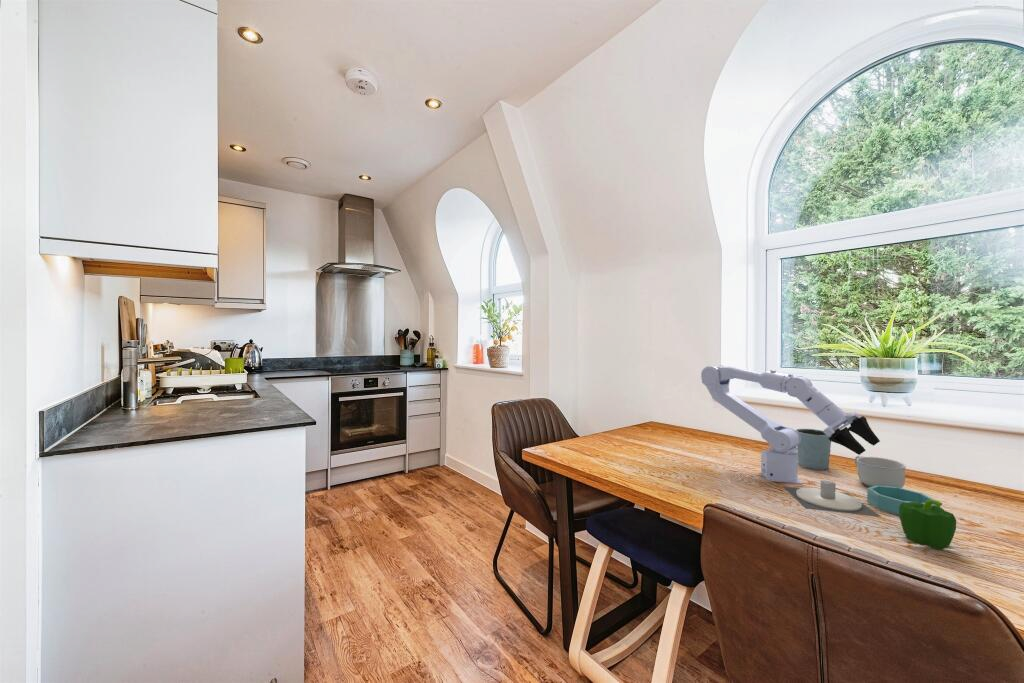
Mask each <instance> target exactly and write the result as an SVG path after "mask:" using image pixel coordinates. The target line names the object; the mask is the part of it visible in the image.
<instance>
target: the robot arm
mask: <svg viewBox="0 0 1024 683" xmlns="http://www.w3.org/2000/svg"><path fill="white" fill-rule="evenodd" d="M700 378H701V384H703V385H704V386H705V387H706V389H707V390H708V392H709V394H710V396H711V398H712V399H713V400H714V402H716V403H718V404H720V405H721V406H722V407H724V408H725V409H726V410H728V411H729V412H730V413H732V414H733V415H735V416H736V417H737V418H739V419H740V420H742V421H743V422H745V423H746V424H748V425H749V426H750V427H751V428H753V429H755V430H756V431H758V432H759V433H760V436H761V438H762V439H763V440H765V442H766V443H767V444H768V445H769V447H770V449H763V450H762V451H761V454H760V455H761V456H760V458H761V460H760V474H761V475H762V476H763V477H764V478H765V479H766V480H767V481H772V482H780V483H781V482H782V483H791V484H792V483H793V484H804V482H803V481H801V479H800V478H798V477H799V476H798V475H799V463H798V448H797V446H798V445H799V444H800V442H801V437H800V435H799V433H798V432H797V431H796V430H797V429H794V428H792V427H787V426H785V425H783V424H782V423H779V422H776V421H774V420H771V419H770V418H768V417H767V416H766V415H764V414H762V413H761V412H760V411H758V410H757V409H756V408H753V407H752V406H751V405H750V404H748V403H746V402H745V401H743V400H741V399H740V398H739V397H737V396H736V395H735V394H732V393H731V392H730V382H731V380H733V379H738V380H743V381H746V382H747V381H748V382H751V383H757V384H759V385H760V387H761V388H763V389H766V390H770V391H775V392H779V393H783V394H785V393H786V394H787V395H788V396H789V397H793V398H796V399H798V401H800V402H801V403H802V404H803V406H805V407H806V408H807V409H809V411H810V412H812V413H813V414H814V415H815V416H816V417H817V418H818V419H819V420H820V421H822V422H823V423H824V424H825V425H827V427H826V428H825V429H824V430H822V431H823V432H824V433H825V434H826V435H827V436H828V437H829V436H831V437H829V438H828V439H829V440H830V441H831V443H835V444H838V445H841V446H842V447H845V448H846V449H849V450H850V451H852V452H853V453H854V454H857V456H861V454H863V453H864V452H866V450H867V449H865V447H864V446H863V445H862V444H861V443H860V442H859V441H858V440H857V439H856V438H855V437H854V435H853V434H856V435H857V436H859V437H860V438H861V439H863V440H864V441H865V442H867V443H868V444H870V445H871V446H875V445H877V444H878V443H880V442H881V440H880V439H879V438H878V436H877V435H876V433H874V431H873V430H872V428H871V427H870V425H869V423H868V419H867V417H865V416H863V415H862V416H860V415H859V414H858V413H857V412H855V411H854V412H853V413H851V412H849V413H846V412H845V411H844V410H843V409H841V408H840V407H839V406H838V405H837V404H836V403H834V402H833V401H832V400H831V399H830V398H828V397H827V396H826V395H825V394H824V393H823V392H822V391H819V390H818V389H817V388H816V387H815V386H813V383H812V381H811V380H810V379H808V378H807V377H804V376H802V375H799V376H795V377H794V374H792V373H788V374H784V373H779V372H777V370H775V369H770V370H766V371H764V372H762V373H761V372H758V371H752V370H749V369H745V368H740V367H736V366H731V365H729V366H728V365H726V366H725V365H715V366H709V365H707V366H705V367H704V368H703V369H702V370H701V374H700ZM849 425H850V426H849ZM847 426H848V427H847ZM852 433H853V434H852Z"/></svg>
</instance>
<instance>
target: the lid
mask: <svg viewBox="0 0 1024 683" xmlns="http://www.w3.org/2000/svg"><path fill="white" fill-rule="evenodd" d="M799 488H800V489H798V490H797V491H796V495H797V497H798V498H800V499H801V500H803V501H805V502H807V503H810V504H813V505H816V506H819V507H823V508H828V509H833V510H840V511H858V510H860V509H862V503H863V502H862V501H860V500H859V499H857V498H856V497H854V496H853V495H852V496H853V497H852V496H849V495H846V494H843V493H840V491H837V490H836V489H837V488H836V482H833V481H830V480H820V488H817V487H799Z"/></svg>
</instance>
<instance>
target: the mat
mask: <svg viewBox="0 0 1024 683" xmlns="http://www.w3.org/2000/svg"><path fill="white" fill-rule="evenodd" d="M783 488H784V489H785V491H787V492H788V493H789V494H790V495H791V496H792V497H793V498H794V499H795V500H796V501H798V503H799V504H800V505H802V507H804V509H807V510H817V511H825V512H835V513H843V514H852V515H860V516H861V515H862V516H871V517H881V518H882V516H881V515H880V514H878V513H877V512H876V511H874V510H873V509H872V508H870V507H869V506H867V505H866V504H864V503H863V502H861V503H862V509H860V510H858V511H840V510H833V509H828V508H823V507H819V506H816V505H813V504H810V503H807V502H805V501H803V500H801V499H800V498H798V497H797V495H796V491H797V490H798V489H800V488H801V487H790V486H783ZM839 492H840V491H839ZM840 493H843V494H846V495H849V496H852V497H854V496H853V495H852V494H850V493H848V492H842V491H841V492H840Z"/></svg>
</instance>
